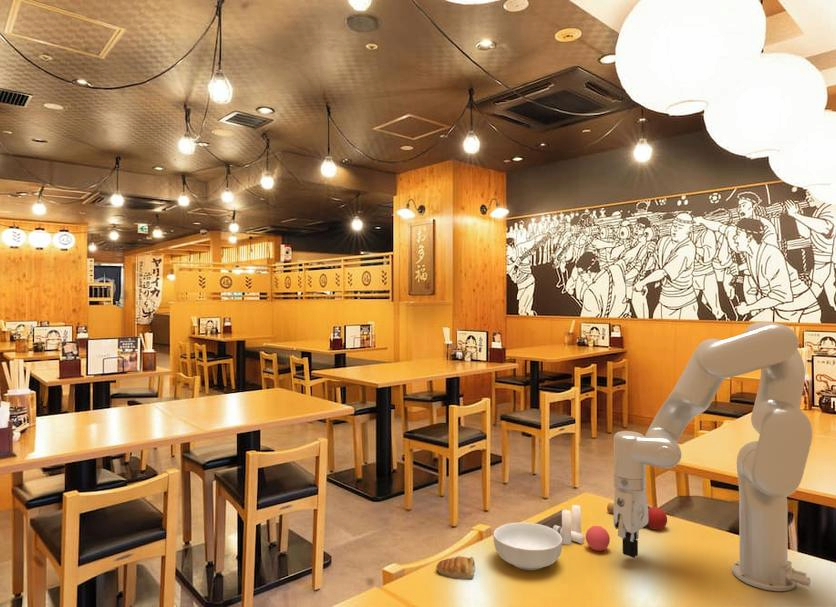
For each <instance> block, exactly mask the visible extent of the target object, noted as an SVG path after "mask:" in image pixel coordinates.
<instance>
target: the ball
mask: <svg viewBox="0 0 836 607" xmlns="http://www.w3.org/2000/svg"><path fill="white" fill-rule="evenodd" d="M610 538H611V537H610V535H609V532H608V531H607V530H606V529H605V528H604V527H603V526H600V525H592V526H590V527H589V528H588V529H587V531H586V533H585V540H586V543H587V545H588V546H589V548H591V549H593V550H595V551H600V552H601V551H604V550H606V549H607V548H608V547H609V545H610V541H611V540H610Z"/></svg>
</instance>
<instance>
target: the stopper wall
mask: <svg viewBox="0 0 836 607" xmlns="http://www.w3.org/2000/svg"><path fill="white" fill-rule="evenodd" d="M562 510H563V509H562ZM562 510H559V511H557V512H554V513H553V514H551V515H549V516H547V517H545V518H543V519H541V520H539V521H536V522H535V524H540V525H544V526H547V527H550V528H552V529H553V526H554V525H557V526H560V527H562Z"/></svg>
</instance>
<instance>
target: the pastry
mask: <svg viewBox="0 0 836 607" xmlns="http://www.w3.org/2000/svg"><path fill="white" fill-rule="evenodd" d="M435 567H436V571H437V573H439V574H440V575H442V576H447V577H449V578H452V579H463V580H472V579H473V578H474V577H475V571H476V564H475V559H474V557H473V556H470V557H468V556H467V557H466V556H461V555H459V556H456V557H451V558H449V557H448V558H445V559H442V560H440V561H439V562H438V563H437V564H436V566H435Z"/></svg>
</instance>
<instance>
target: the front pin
mask: <svg viewBox="0 0 836 607" xmlns="http://www.w3.org/2000/svg"><path fill="white" fill-rule="evenodd" d="M553 529H554V530H556V531H557V532H558V533H559V534H560V535H561V537H562V527H560V526H557V525H554V526H553ZM585 540H586V536H585V534H583V533H581V534H580V533H577V532H574V531H572V530H571V542H572V541H573V542H576V543H578V544H581V545H583V544H584V542H585Z"/></svg>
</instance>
